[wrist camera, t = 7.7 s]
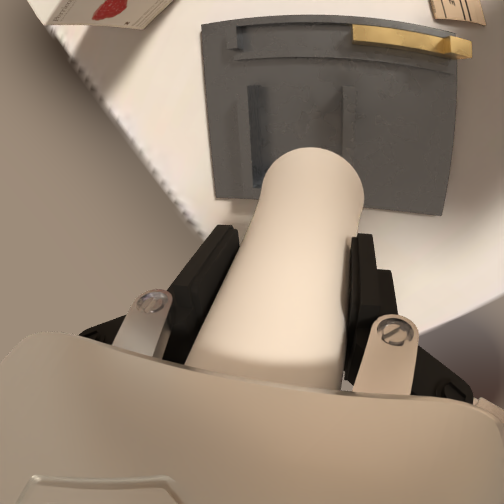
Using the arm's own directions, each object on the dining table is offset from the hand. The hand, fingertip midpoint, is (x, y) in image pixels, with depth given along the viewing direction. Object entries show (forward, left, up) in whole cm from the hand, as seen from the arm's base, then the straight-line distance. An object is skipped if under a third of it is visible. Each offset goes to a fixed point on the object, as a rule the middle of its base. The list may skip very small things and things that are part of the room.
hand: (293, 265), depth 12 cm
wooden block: (-8, -11, -20) cm, 25 cm away
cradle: (-1, -4, -21) cm, 22 cm away
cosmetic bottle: (0, 0, -8) cm, 8 cm away
